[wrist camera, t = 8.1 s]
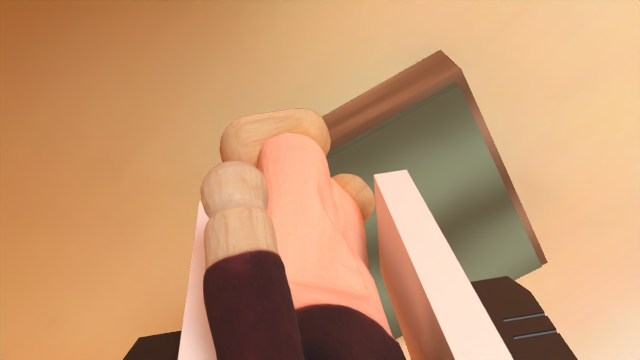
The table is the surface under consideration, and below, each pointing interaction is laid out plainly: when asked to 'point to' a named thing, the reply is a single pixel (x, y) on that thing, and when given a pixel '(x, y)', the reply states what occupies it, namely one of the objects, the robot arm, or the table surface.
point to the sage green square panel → (436, 169)
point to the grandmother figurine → (289, 248)
